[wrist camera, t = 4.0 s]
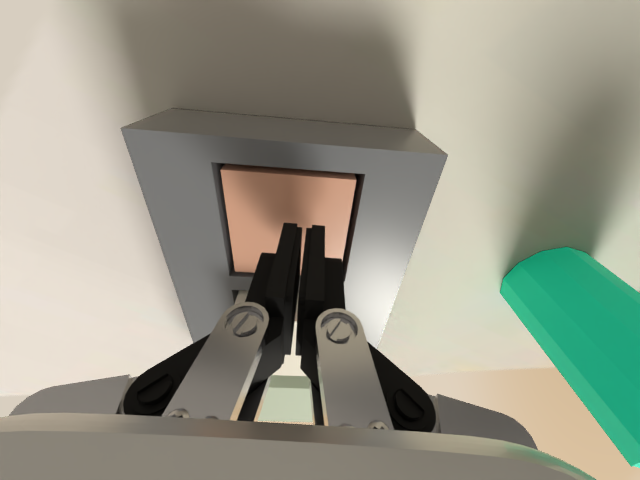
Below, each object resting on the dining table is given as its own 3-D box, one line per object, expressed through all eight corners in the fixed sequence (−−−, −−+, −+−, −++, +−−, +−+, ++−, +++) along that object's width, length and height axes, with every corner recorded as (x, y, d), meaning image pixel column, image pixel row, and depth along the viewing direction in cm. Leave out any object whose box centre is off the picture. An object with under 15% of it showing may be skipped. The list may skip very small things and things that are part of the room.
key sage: (324, 345, 20) (325, 389, 17) (318, 380, 23) (318, 422, 21) (252, 342, 20) (242, 386, 17) (256, 378, 23) (248, 420, 20)
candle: (494, 266, 19) (687, 501, 9) (592, 233, 17) (959, 476, 7) (504, 314, 22) (655, 527, 12) (587, 290, 20) (841, 514, 10)
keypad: (416, 129, 13) (447, 155, 10) (350, 363, 26) (355, 408, 23) (171, 108, 13) (120, 127, 9) (227, 359, 25) (214, 404, 22)
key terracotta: (348, 154, 13) (356, 180, 11) (336, 241, 16) (339, 277, 14) (240, 145, 13) (220, 169, 10) (248, 235, 16) (234, 271, 13)
